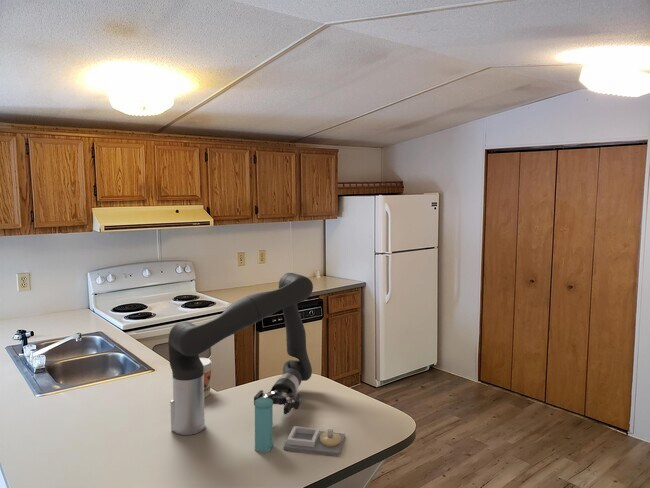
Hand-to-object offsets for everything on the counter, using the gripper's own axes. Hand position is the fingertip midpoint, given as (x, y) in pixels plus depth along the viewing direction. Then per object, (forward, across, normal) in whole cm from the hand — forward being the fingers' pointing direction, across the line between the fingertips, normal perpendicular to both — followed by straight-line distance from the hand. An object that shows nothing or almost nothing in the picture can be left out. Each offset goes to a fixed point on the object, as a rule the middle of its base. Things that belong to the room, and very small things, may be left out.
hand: (271, 410), depth 150 cm
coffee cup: (-23, -34, +8) cm, 42 cm away
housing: (+2, +14, +8) cm, 16 cm away
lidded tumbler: (+7, 0, +8) cm, 11 cm away
